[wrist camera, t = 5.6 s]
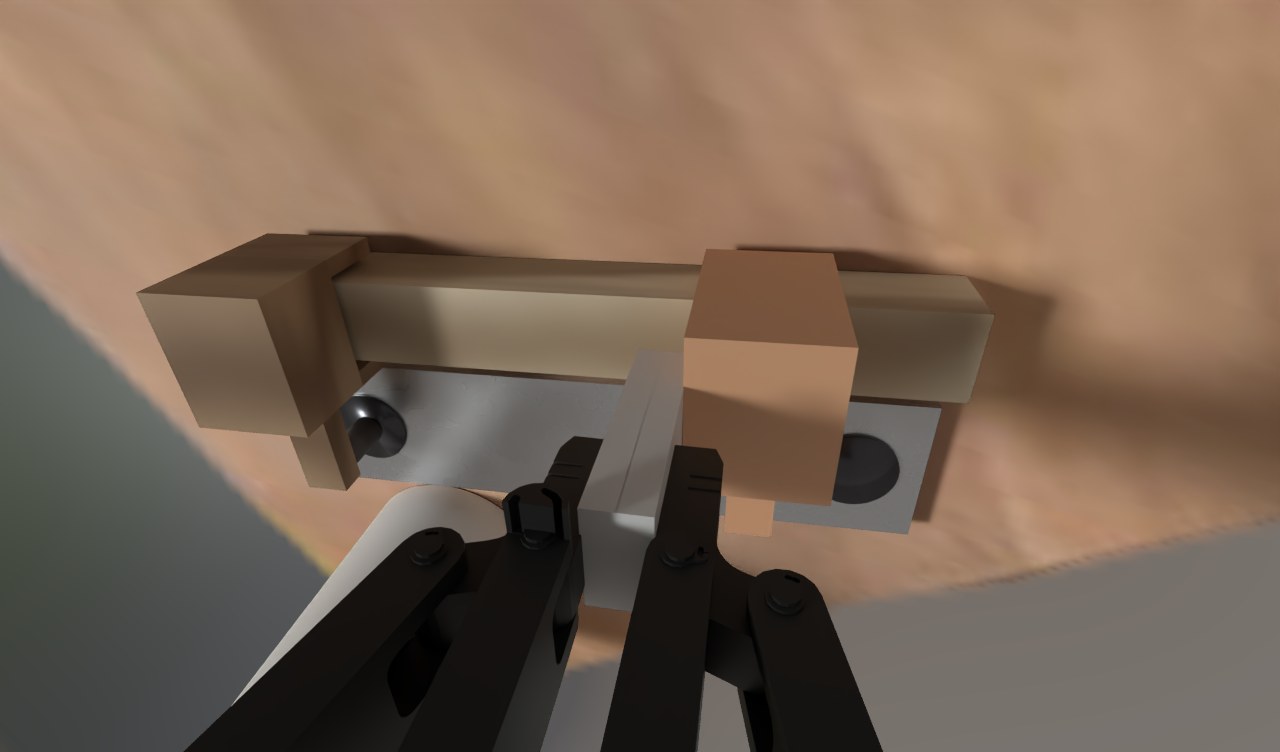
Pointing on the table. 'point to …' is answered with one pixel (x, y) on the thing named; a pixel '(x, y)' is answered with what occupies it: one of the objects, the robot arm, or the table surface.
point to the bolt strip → (583, 406)
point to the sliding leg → (769, 378)
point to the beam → (636, 319)
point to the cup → (394, 547)
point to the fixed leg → (270, 347)
